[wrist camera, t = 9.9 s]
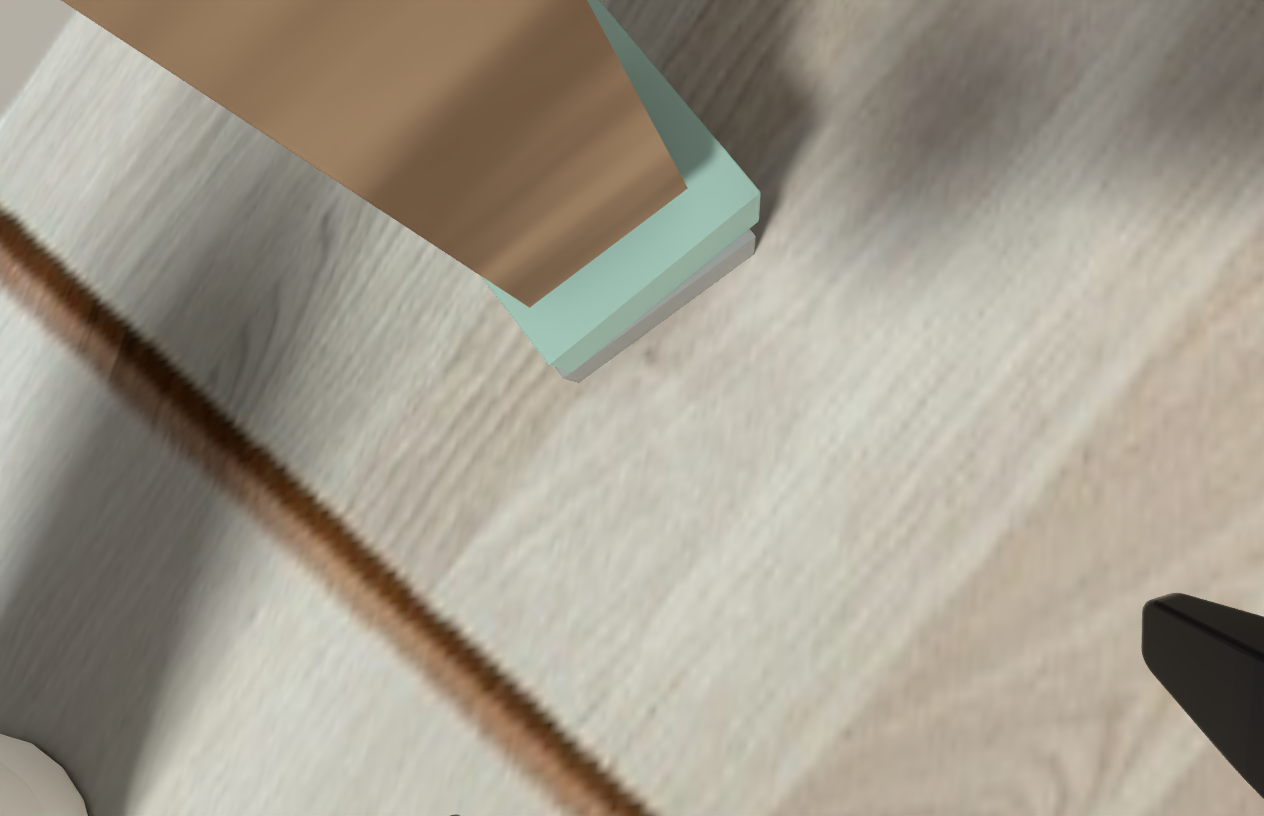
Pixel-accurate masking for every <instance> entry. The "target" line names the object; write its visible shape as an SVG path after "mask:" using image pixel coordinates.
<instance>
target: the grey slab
mask: <svg viewBox="0 0 1264 816" xmlns="http://www.w3.org/2000/svg"><path fill="white" fill-rule="evenodd" d="M755 238H756V236H755V235H754V234H753V232H752V231H751V230H750V229H748V230H747V231H746V232H745V233H744V234H742V235H741V236H740V237H739V238H737V239H736V240H735V241H734V242H732V243H731V244H730V245H729V246H728V247H726V248H725V249H724V250H723V251H721V252H720V253H719V254H718V255H716V256H715V257H714V258H713V259H711V260H710V261H709V262H708V263H707V264H705V265H704V266H703V267H702V268H700V269H699V270H698V271H697V272H695V273H694V274H693V275H692V276H691V277H689V278H688V279H687V280H686V281H684V282H683V283H682V284H681V285H679V286H678V287H677V288H676V289H674V290H673V291H672V292H671V293H670V294H668V295H667V296H666V297H665V298H663V299H662V300H661V301H660V302H658V303H657V304H656V305H655V306H653V307H652V308H651V309H650V310H649V311H647V312H646V313H645V314H644V315H642V316H641V317H640V318H639V319H637V320H636V321H635V322H634V323H633V324H631V325H630V326H629V327H628V328H626V329H625V330H624V331H623V332H621V333H620V334H619V335H618V336H616V337H615V338H614V339H613V340H612V341H610V342H609V343H608V344H607V345H605V346H604V347H603V348H602V349H600V350H599V351H598V352H597V353H596V354H594V355H593V356H592V357H591V358H589V359H588V360H587V361H586V362H584V363H583V364H582V365H581V366H579V367H578V368H577V369H576V370H575V371H573V372H569V371H566V370H562V369H559V368H556V367H555V368H556V369H557V371H558V372H559V374H560V375H561V376H562V378H563V379H567V380H570V381H574V382H578V383H579V382H581V381H582V380H583V379H585V378H586V377H587V376H589V375H590V374H592V373H593V372H594V371H596V370H597V369H598V368H600V367H601V366H602V365H604V364H605V363H607V362H608V361H609V360H611V359H612V358H613V357H615V356H616V355H617V354H619V353H620V352H622V351H623V350H624V349H626V348H627V347H628V346H630V345H631V344H632V343H634V342H635V341H636V340H638V339H639V338H641V337H642V336H643V335H645V334H646V333H647V332H649V331H650V330H651V329H653V328H654V327H656V326H657V325H658V324H660V323H661V322H662V321H664V320H665V319H666V318H668V317H669V316H671V315H672V314H673V313H675V312H676V311H677V310H679V309H680V308H681V307H683V306H684V305H686V304H687V303H688V302H690V301H691V300H692V299H694V298H695V297H696V296H698V295H699V294H701V293H702V292H703V291H705V290H706V289H707V288H709V287H710V286H711V285H713V284H714V283H716V282H717V281H718V280H720V279H721V278H722V277H724V276H725V275H726V274H728V273H729V272H731V271H732V270H733V269H735V268H736V267H737V266H739V265H740V264H741V263H743V262H744V261H745V260H747V259H748V258H750V257H751V256H752V255H754V250H755Z"/></svg>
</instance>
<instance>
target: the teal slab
mask: <svg viewBox="0 0 1264 816" xmlns="http://www.w3.org/2000/svg"><path fill="white" fill-rule="evenodd" d="M587 1H588V3H589V5H590V6H591V8H592V10H593V12H594V14H595V16H596V18H597V20H598V21H599V23H600V25H601V27H602V29H603V31H604V33H605V35H606V36H607V38H608V40H609V42H610V44H611V46H612V48H613V49H614V51H615V53H616V55H617V57H618V59H619V61H620V63H621V64H622V66H623V68H624V70H625V72H626V74H627V76H628V78H629V79H630V81H631V83H632V85H633V87H634V89H635V91H636V92H637V94H638V96H639V98H640V100H641V102H642V104H643V106H644V107H645V109H646V111H647V113H648V115H649V117H650V119H651V120H652V122H653V124H654V126H655V128H656V130H657V132H658V134H659V135H660V137H661V139H662V141H663V143H664V145H665V147H666V149H667V150H668V152H669V154H670V156H671V158H672V160H673V162H674V163H675V165H676V167H677V169H678V171H679V173H680V175H681V177H682V178H683V180H684V182H685V184H686V186H687V188H688V189H686V190H685V191H684V192H682V193H681V194H680V195H678V196H677V197H676V198H674V199H673V200H672V201H671V202H669V203H668V204H667V205H665V206H664V207H663V208H661V209H660V210H659V211H657V212H656V213H655V214H653V215H652V216H651V217H649V218H648V219H647V220H645V221H644V222H643V223H641V224H640V225H639V226H637V227H636V228H635V229H633V230H632V231H631V232H629V233H628V234H627V235H625V236H624V237H623V238H621V239H620V240H619V241H617V242H616V243H615V244H614V245H612V246H611V247H610V248H608V249H607V250H606V251H604V252H603V253H602V254H600V255H599V256H598V257H596V258H595V259H594V260H592V261H591V262H590V263H588V264H587V265H586V266H584V267H583V268H582V269H580V270H579V271H578V272H576V273H575V274H574V275H572V276H571V277H570V278H568V279H567V280H566V281H564V282H563V283H562V284H560V285H559V286H558V287H557V288H555V289H554V290H553V291H551V292H550V293H549V294H547V295H546V296H545V297H543V298H542V299H541V300H539V301H538V302H537V303H535V304H534V305H533V306H531V307H530V308H529V307H528V306H526V305H525V304H523V303H522V302H520V301H518V300H517V299H515V298H514V297H512V296H511V295H509V294H508V293H506V292H505V291H503V290H502V289H500V288H499V287H497V286H496V285H494V284H493V283H491V282H490V281H488V280H486V279H485V278H483V277H482V276H481V277H482V278H483V280H484V281H485V282H486V284H487V285H488V286H489V288H490V289H491V290H492V292H493V293H494V294H495V295H496V297H497V298H498V299H499V301H500V302H501V303H502V305H503V306H504V307H505V309H506V310H507V311H508V312H509V314H510V315H511V316H512V318H513V319H514V320H515V322H516V323H517V324H518V326H519V327H520V328H521V329H522V331H523V332H524V333H525V335H526V336H527V337H528V339H529V340H530V341H531V343H532V344H533V345H534V346H535V348H536V349H537V350H538V352H539V353H540V354H541V356H542V357H543V358H544V360H545V361H546V362H547V363H548V365H550V366H553V367H556V368H559V369H562V370H566V371H569V372H573V371H575V370H576V369H577V368H578V367H579V366H581V365H582V364H583V363H584V362H586V361H587V360H588V359H589V358H591V357H592V356H593V355H594V354H596V353H597V352H598V351H599V350H600V349H602V348H603V347H604V346H605V345H607V344H608V343H609V342H610V341H612V340H613V339H614V338H615V337H616V336H618V335H619V334H620V333H621V332H623V331H624V330H625V329H626V328H628V327H629V326H630V325H631V324H633V323H634V322H635V321H636V320H637V319H639V318H640V317H641V316H642V315H644V314H645V313H646V312H647V311H649V310H650V309H651V308H652V307H653V306H655V305H656V304H657V303H658V302H660V301H661V300H662V299H663V298H665V297H666V296H667V295H668V294H670V293H671V292H672V291H673V290H674V289H676V288H677V287H678V286H679V285H681V284H682V283H683V282H684V281H686V280H687V279H688V278H689V277H691V276H692V275H693V274H694V273H695V272H697V271H698V270H699V269H700V268H702V267H703V266H704V265H705V264H707V263H708V262H709V261H710V260H711V259H713V258H714V257H715V256H716V255H718V254H719V253H720V252H721V251H723V250H724V249H725V248H726V247H728V246H729V245H730V244H731V243H732V242H734V241H735V240H736V239H737V238H739V237H740V236H741V235H742V234H744V233H745V232H746V231H747V230H748V229H750V228H751V227H752V226H753V225H755V224H756V223H757V222H758V221H759V211H760V196H761V192H760V191H759V190H758V189H757V187H756V186H755V185H754V184H753V183H752V181H751V180H750V179H749V178H748V177H747V175H746V174H745V173H744V172H743V171H742V169H741V168H740V167H739V166H738V165H737V163H736V162H735V161H734V160H733V159H732V158H731V156H730V155H729V154H728V153H727V152H726V150H725V149H724V148H723V147H722V146H721V144H720V143H719V142H718V141H717V140H716V138H715V137H714V136H713V135H712V134H711V132H710V131H709V130H708V129H707V128H706V126H705V125H704V124H703V123H702V122H701V121H700V119H699V118H698V117H697V116H696V115H695V113H694V112H693V111H692V110H691V109H690V107H689V106H688V105H687V104H686V103H685V101H684V100H683V99H682V98H681V97H680V95H679V94H678V93H677V92H676V91H675V89H674V88H673V87H672V86H671V85H670V84H669V82H668V81H667V80H666V79H665V78H664V76H663V75H662V74H661V73H660V72H659V70H658V69H657V68H656V67H655V66H654V64H653V63H652V62H651V61H650V60H649V58H648V57H647V56H646V55H645V54H644V52H643V51H642V50H641V49H640V48H639V47H638V45H637V44H636V43H635V42H634V41H633V39H632V38H631V37H630V36H629V35H628V33H627V32H626V31H625V30H624V29H623V27H622V26H621V25H620V24H619V23H618V21H617V20H616V19H615V18H614V17H613V15H612V14H611V13H610V12H609V11H608V10H607V8H606V7H605V6H604V5H603V4H602V2H601V1H600V0H587Z"/></svg>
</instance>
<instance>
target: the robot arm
mask: <svg viewBox="0 0 1264 816" xmlns="http://www.w3.org/2000/svg"><path fill="white" fill-rule="evenodd" d="M1142 654H1143V658H1144V660H1145V663H1146V665H1147V666H1148V668H1149V669H1150V671H1151V672H1152V673H1153V674H1154V676H1155V677H1156V678H1157V679H1158V680H1159V681H1160V683H1161V684H1162V685H1163V686H1164V687H1165V688H1166V690H1167V691H1168V692H1169V693H1170V694H1171V695H1172V697H1173V698H1174V699H1175V700H1176V701H1177V702H1178V704H1179V705H1180V706H1181V707H1182V708H1183V709H1184V710H1185V712H1186V713H1187V714H1188V715H1189V716H1190V717H1191V719H1192V720H1193V721H1194V722H1195V723H1196V724H1197V726H1198V727H1199V728H1200V729H1201V730H1202V731H1203V733H1204V734H1205V735H1206V736H1207V737H1208V738H1209V740H1210V741H1211V742H1212V743H1213V744H1214V745H1215V747H1216V748H1217V749H1218V750H1219V751H1220V752H1221V754H1222V755H1223V756H1224V757H1225V758H1226V759H1227V760H1228V762H1229V763H1230V764H1231V765H1232V766H1233V767H1234V768H1235V769H1236V770H1237V771H1238V773H1239V774H1240V775H1241V776H1242V777H1243V778H1244V779H1245V780H1246V781H1247V782H1248V783H1249V784H1250V785H1251V786H1252V787H1253V788H1254V789H1255V790H1256V791H1257V792H1258V793H1259V794H1260V796H1261V797H1262V798H1263V799H1264V617H1263V616H1259V615H1256V614H1252V613H1249V612H1245V611H1242V610H1238V609H1235V608H1231V607H1228V606H1224V605H1221V604H1217V603H1214V602H1210V601H1207V600H1203V599H1200V598H1196V597H1193V596H1189V595H1186V594H1182V593H1172V594H1168V595H1165V596H1162V597H1159V598H1155V599H1152V600H1149V601H1148V602H1146V603H1145V605H1144V607H1143V611H1142ZM451 816H460V815H451Z"/></svg>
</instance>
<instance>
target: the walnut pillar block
mask: <svg viewBox="0 0 1264 816" xmlns="http://www.w3.org/2000/svg"><path fill="white" fill-rule="evenodd" d="M62 1H63V2H65V3H66V4H68V5H69V6H71V7H72V8H74V9H75V10H77V11H78V12H80V13H81V14H83V15H84V16H86V17H88V18H89V19H91V20H92V21H94V22H95V23H97V24H98V25H100V26H101V27H103V28H104V29H106V30H107V31H109V32H110V33H112V34H113V35H115V36H116V37H118V38H120V39H121V40H123V41H124V42H126V43H127V44H129V45H130V46H132V47H133V48H135V49H136V50H138V51H139V52H141V53H142V54H144V55H145V56H147V57H148V58H150V59H151V60H153V61H155V62H156V63H158V64H159V65H161V66H162V67H164V68H165V69H167V70H168V71H170V72H171V73H173V74H174V75H176V76H177V77H179V78H180V79H182V80H183V81H185V82H187V83H188V84H190V85H191V86H193V87H194V88H196V89H197V90H199V91H200V92H202V93H203V94H205V95H206V96H208V97H209V98H211V99H212V100H214V101H215V102H217V103H218V104H220V105H222V106H223V107H225V108H226V109H228V110H229V111H231V112H232V113H234V114H235V115H237V116H238V117H240V118H241V119H243V120H244V121H246V122H247V123H249V124H250V125H252V126H254V127H255V128H257V129H258V130H260V131H261V132H263V133H264V134H266V135H267V136H269V137H270V138H272V139H273V140H275V141H276V142H278V143H279V144H281V145H282V146H284V147H285V148H287V149H289V150H290V151H292V152H293V153H295V154H296V155H298V156H299V157H301V158H302V159H304V160H305V161H307V162H308V163H310V164H311V165H313V166H314V167H316V168H317V169H319V170H321V171H322V172H324V173H325V174H327V175H328V176H330V177H331V178H333V179H334V180H336V181H337V182H339V183H340V184H342V185H343V186H345V187H346V188H348V189H349V190H351V191H352V192H354V193H356V194H357V195H359V196H360V197H362V198H363V199H365V200H366V201H368V202H369V203H371V204H372V205H374V206H375V207H377V208H378V209H380V210H381V211H383V212H384V213H386V214H388V215H389V216H391V217H392V218H394V219H395V220H397V221H398V222H400V223H401V224H403V225H404V226H406V227H407V228H409V229H410V230H412V231H413V232H415V233H416V234H418V235H419V236H421V237H423V238H424V239H426V240H427V241H429V242H430V243H432V244H433V245H435V246H436V247H438V248H439V249H441V250H442V251H444V252H445V253H447V254H448V255H450V256H451V257H453V258H455V259H456V260H458V261H459V262H461V263H462V264H464V265H465V266H467V267H468V268H470V269H471V270H473V271H474V272H476V273H477V274H479V275H480V276H482V277H483V278H485V279H486V280H488V281H490V282H491V283H493V284H494V285H496V286H497V287H499V288H500V289H502V290H503V291H505V292H506V293H508V294H509V295H511V296H512V297H514V298H515V299H517V300H518V301H520V302H522V303H523V304H525V305H526V306H528V307H529V308H530V307H531V306H533V305H534V304H535V303H537V302H538V301H539V300H541V299H542V298H543V297H545V296H546V295H547V294H549V293H550V292H551V291H553V290H554V289H555V288H557V287H558V286H559V285H560V284H562V283H563V282H564V281H566V280H567V279H568V278H570V277H571V276H572V275H574V274H575V273H576V272H578V271H579V270H580V269H582V268H583V267H584V266H586V265H587V264H588V263H590V262H591V261H592V260H594V259H595V258H596V257H598V256H599V255H600V254H602V253H603V252H604V251H606V250H607V249H608V248H610V247H611V246H612V245H614V244H615V243H616V242H617V241H619V240H620V239H621V238H623V237H624V236H625V235H627V234H628V233H629V232H631V231H632V230H633V229H635V228H636V227H637V226H639V225H640V224H641V223H643V222H644V221H645V220H647V219H648V218H649V217H651V216H652V215H653V214H655V213H656V212H657V211H659V210H660V209H661V208H663V207H664V206H665V205H667V204H668V203H669V202H671V201H672V200H673V199H674V198H676V197H677V196H678V195H680V194H681V193H682V192H684V191H685V190H686V189H688V188H687V186H686V184H685V182H684V180H683V178H682V177H681V175H680V173H679V171H678V169H677V167H676V165H675V163H674V162H673V160H672V158H671V156H670V154H669V152H668V150H667V149H666V147H665V145H664V143H663V141H662V139H661V137H660V135H659V134H658V132H657V130H656V128H655V126H654V124H653V122H652V120H651V119H650V117H649V115H648V113H647V111H646V109H645V107H644V106H643V104H642V102H641V100H640V98H639V96H638V94H637V92H636V91H635V89H634V87H633V85H632V83H631V81H630V79H629V78H628V76H627V74H626V72H625V70H624V68H623V66H622V64H621V63H620V61H619V59H618V57H617V55H616V53H615V51H614V49H613V48H612V46H611V44H610V42H609V40H608V38H607V36H606V35H605V33H604V31H603V29H602V27H601V25H600V23H599V21H598V20H597V18H596V16H595V14H594V12H593V10H592V8H591V6H590V5H589V3H588V1H587V0H62Z"/></svg>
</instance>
